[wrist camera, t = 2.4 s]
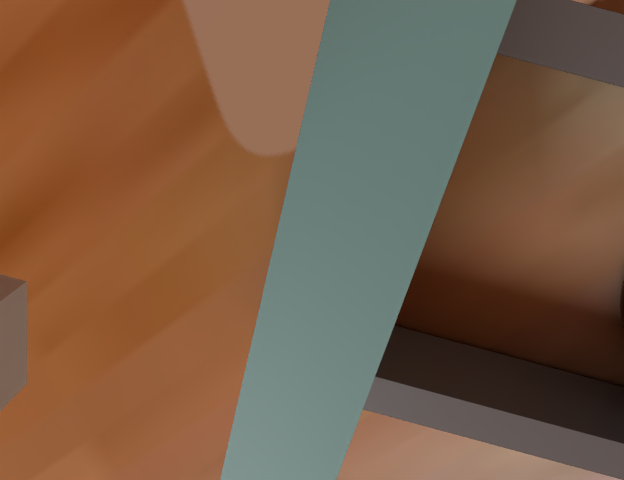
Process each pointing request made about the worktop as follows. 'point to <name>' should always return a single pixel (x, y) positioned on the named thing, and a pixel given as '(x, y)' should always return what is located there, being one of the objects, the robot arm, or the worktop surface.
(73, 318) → the worktop surface
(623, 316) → the supplement container
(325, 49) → the gray open tray
